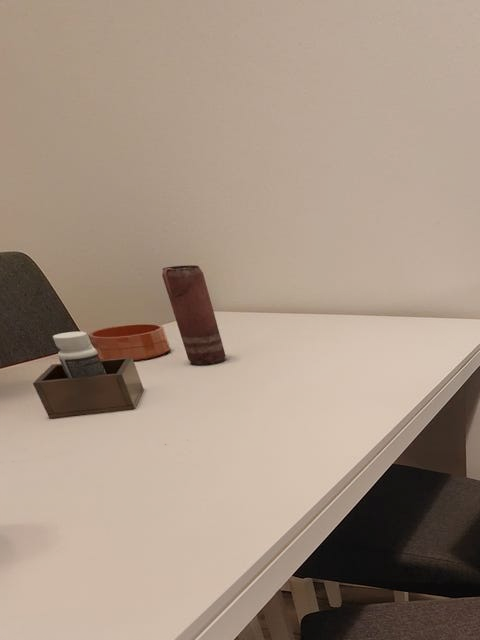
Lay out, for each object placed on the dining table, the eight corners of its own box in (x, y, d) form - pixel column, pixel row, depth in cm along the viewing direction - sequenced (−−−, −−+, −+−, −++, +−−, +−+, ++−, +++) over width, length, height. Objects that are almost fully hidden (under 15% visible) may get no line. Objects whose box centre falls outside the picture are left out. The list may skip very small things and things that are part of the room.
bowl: (92, 365, 101) (82, 340, 99) (104, 350, 111) (95, 327, 108) (167, 358, 104) (159, 333, 102) (173, 344, 113) (165, 321, 111)
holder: (49, 418, 78) (32, 383, 76) (66, 397, 86) (51, 364, 84) (134, 408, 81) (121, 374, 78) (143, 389, 89) (132, 356, 86)
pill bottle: (122, 396, 84) (97, 331, 79) (93, 405, 81) (65, 339, 76) (99, 393, 86) (73, 329, 81) (70, 402, 82) (41, 336, 77)
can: (180, 364, 101) (150, 268, 92) (207, 355, 105) (180, 263, 96) (208, 367, 99) (179, 269, 90) (233, 358, 103) (208, 264, 95)
